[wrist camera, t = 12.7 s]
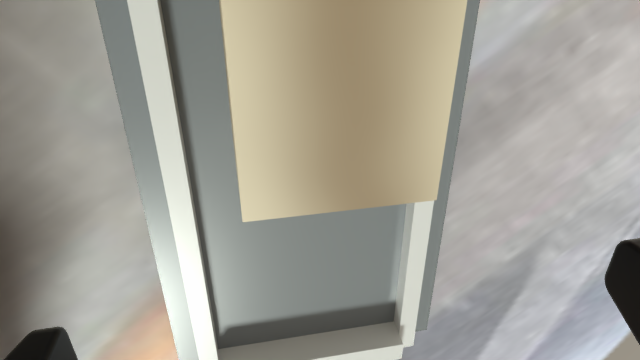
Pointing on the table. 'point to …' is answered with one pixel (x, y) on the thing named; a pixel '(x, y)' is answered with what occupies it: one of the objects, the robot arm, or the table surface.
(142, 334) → the table surface
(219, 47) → the gray tray
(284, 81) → the module block
